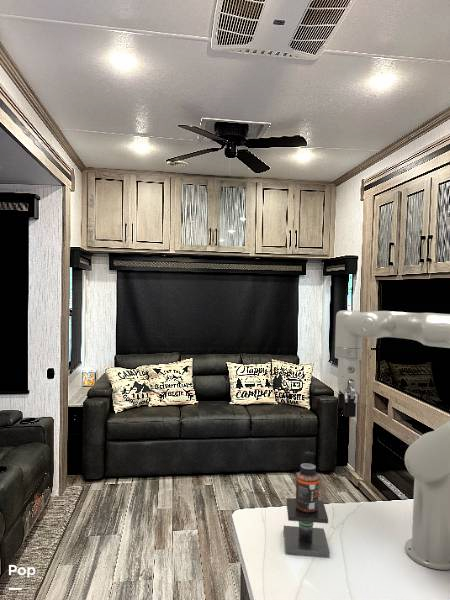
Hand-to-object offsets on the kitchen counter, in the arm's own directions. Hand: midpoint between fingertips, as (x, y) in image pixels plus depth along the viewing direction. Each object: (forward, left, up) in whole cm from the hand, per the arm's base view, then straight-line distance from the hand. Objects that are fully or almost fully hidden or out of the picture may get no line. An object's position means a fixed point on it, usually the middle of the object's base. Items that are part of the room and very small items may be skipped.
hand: (346, 411), depth 129 cm
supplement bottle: (+12, +13, -23) cm, 29 cm away
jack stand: (+12, +13, -32) cm, 37 cm away
